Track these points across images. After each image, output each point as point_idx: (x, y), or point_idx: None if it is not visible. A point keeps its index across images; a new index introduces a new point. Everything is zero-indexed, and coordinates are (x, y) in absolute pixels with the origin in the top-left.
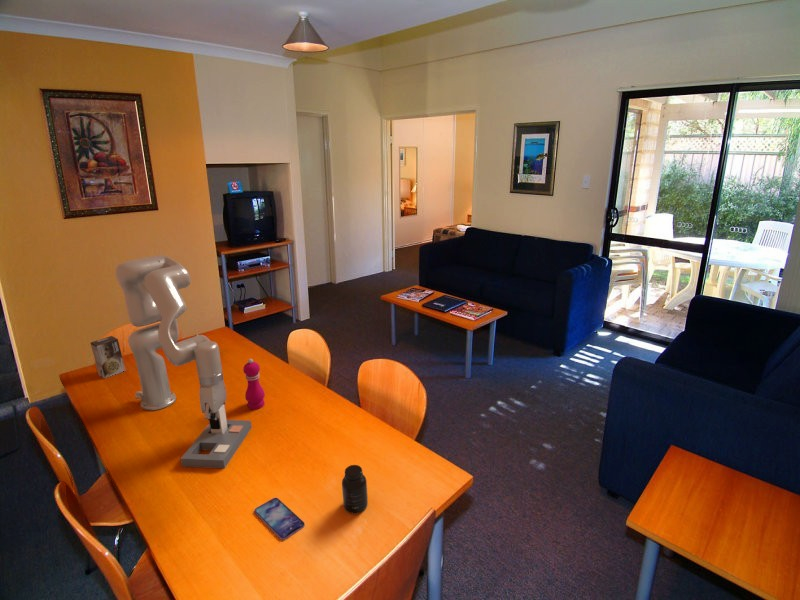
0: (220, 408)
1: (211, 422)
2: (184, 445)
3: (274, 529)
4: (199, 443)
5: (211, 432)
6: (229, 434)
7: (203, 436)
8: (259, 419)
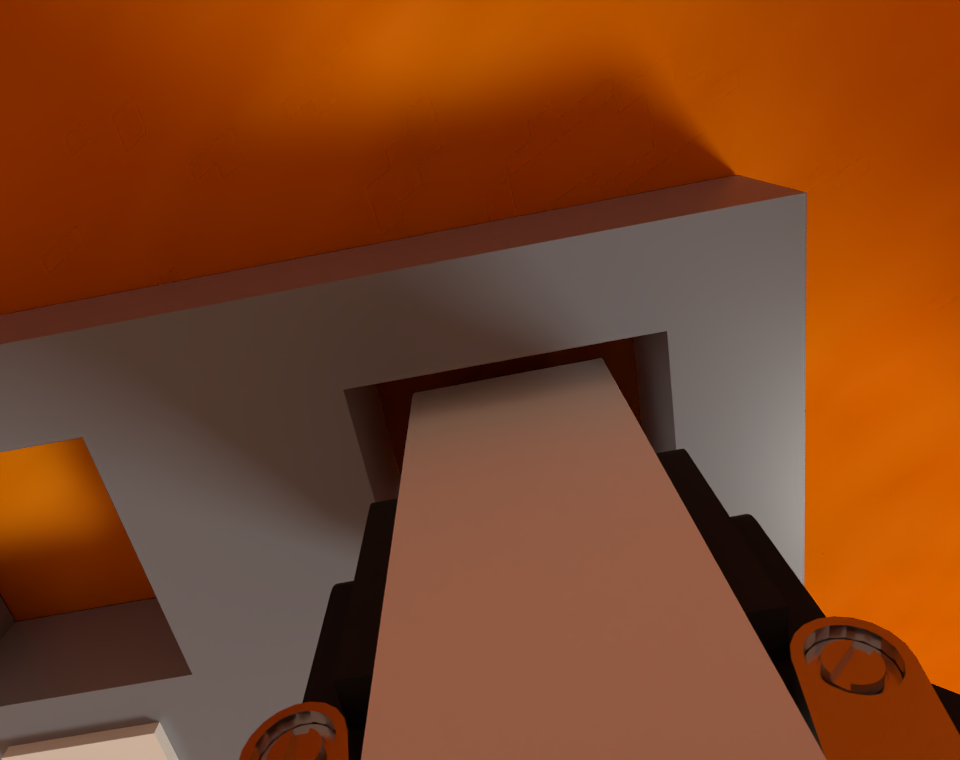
0: None
1: (314, 694)
2: (122, 16)
3: None
4: (71, 434)
5: (410, 424)
6: None
7: (243, 388)
8: (940, 662)
